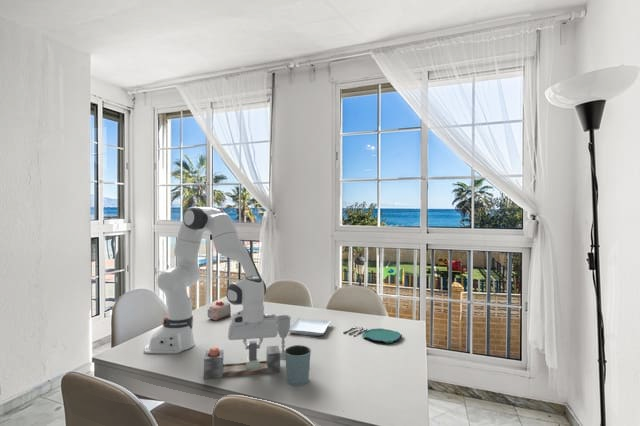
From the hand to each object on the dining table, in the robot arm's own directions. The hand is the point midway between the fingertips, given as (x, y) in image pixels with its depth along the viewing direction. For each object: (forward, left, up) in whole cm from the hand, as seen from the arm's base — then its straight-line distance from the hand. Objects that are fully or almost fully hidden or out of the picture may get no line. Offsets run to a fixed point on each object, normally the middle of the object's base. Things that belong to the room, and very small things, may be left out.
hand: (252, 348), depth 144 cm
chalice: (+14, +11, -9) cm, 20 cm away
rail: (-4, 0, -9) cm, 10 cm away
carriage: (0, 0, -7) cm, 7 cm away
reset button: (-15, 0, -3) cm, 16 cm away
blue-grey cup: (+17, -12, -9) cm, 23 cm away
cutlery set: (+65, +29, -10) cm, 72 cm away
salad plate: (+33, +44, -10) cm, 56 cm away
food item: (-18, +76, -9) cm, 79 cm away
